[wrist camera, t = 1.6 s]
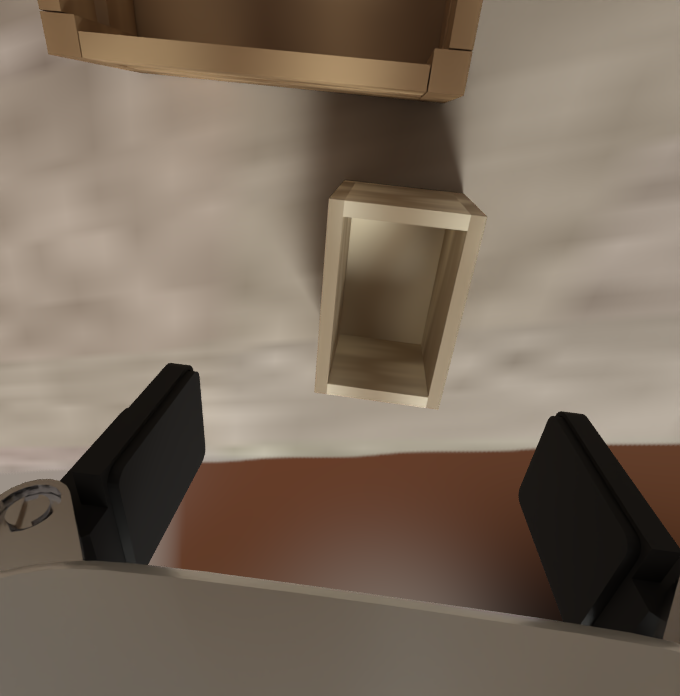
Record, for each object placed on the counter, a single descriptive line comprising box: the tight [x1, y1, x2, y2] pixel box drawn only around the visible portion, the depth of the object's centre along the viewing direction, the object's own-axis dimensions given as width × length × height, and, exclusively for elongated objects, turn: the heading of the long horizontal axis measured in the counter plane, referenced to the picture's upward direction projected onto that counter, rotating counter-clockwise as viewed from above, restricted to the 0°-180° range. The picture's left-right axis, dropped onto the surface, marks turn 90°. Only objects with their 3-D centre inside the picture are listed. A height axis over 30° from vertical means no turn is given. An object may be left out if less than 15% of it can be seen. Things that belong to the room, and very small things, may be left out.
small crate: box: [314, 180, 487, 410], centre depth 21 cm, size 6×9×6 cm, turn 175°
